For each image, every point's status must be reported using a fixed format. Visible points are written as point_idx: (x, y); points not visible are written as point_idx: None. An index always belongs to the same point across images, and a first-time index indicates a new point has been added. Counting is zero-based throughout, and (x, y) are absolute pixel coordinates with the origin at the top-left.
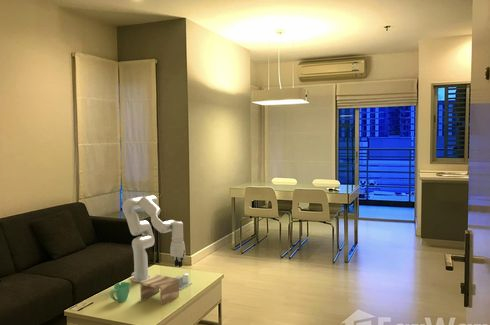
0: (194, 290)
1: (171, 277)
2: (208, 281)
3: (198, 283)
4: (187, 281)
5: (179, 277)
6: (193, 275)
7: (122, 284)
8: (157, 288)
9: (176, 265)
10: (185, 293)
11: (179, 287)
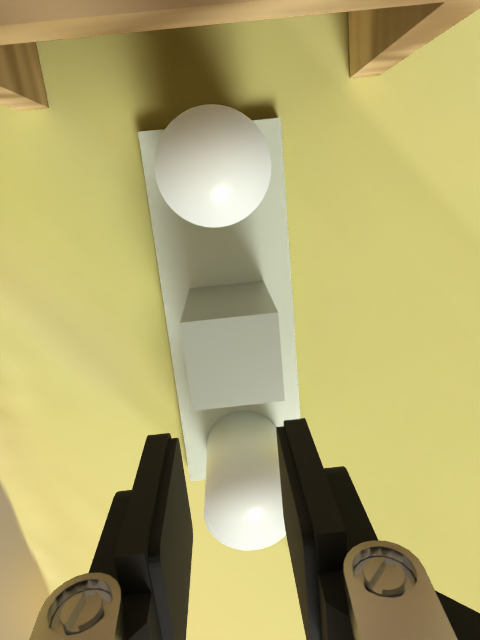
0: (14, 352)
1: (48, 8)
2: None
3: None
4: (207, 449)
5: (222, 369)
6: None
7: None
8: (366, 14)
9: (281, 461)
10: (24, 225)
11: (189, 291)
